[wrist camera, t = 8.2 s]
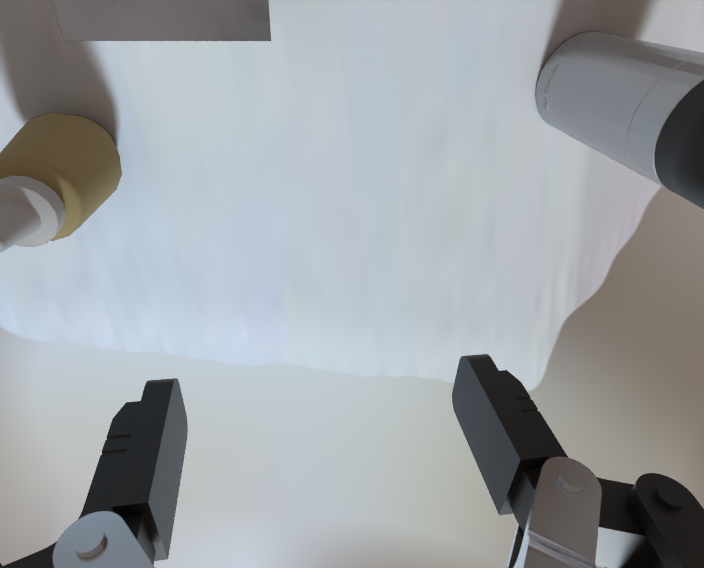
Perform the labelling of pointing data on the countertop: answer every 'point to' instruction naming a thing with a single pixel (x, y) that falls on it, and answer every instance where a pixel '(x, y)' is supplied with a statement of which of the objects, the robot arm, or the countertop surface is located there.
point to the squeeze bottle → (54, 178)
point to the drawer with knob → (163, 20)
